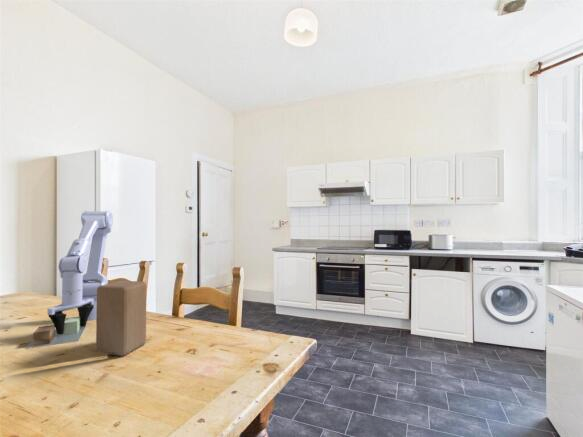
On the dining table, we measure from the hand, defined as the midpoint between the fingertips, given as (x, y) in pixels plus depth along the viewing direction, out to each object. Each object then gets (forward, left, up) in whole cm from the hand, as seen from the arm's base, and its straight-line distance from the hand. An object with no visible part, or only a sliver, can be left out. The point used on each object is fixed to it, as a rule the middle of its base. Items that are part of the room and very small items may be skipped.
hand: (71, 329), depth 102 cm
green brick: (0, 0, 0) cm, 0 cm away
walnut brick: (+6, +7, 0) cm, 9 cm away
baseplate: (+3, +3, -2) cm, 5 cm away
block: (-16, +21, -2) cm, 27 cm away
